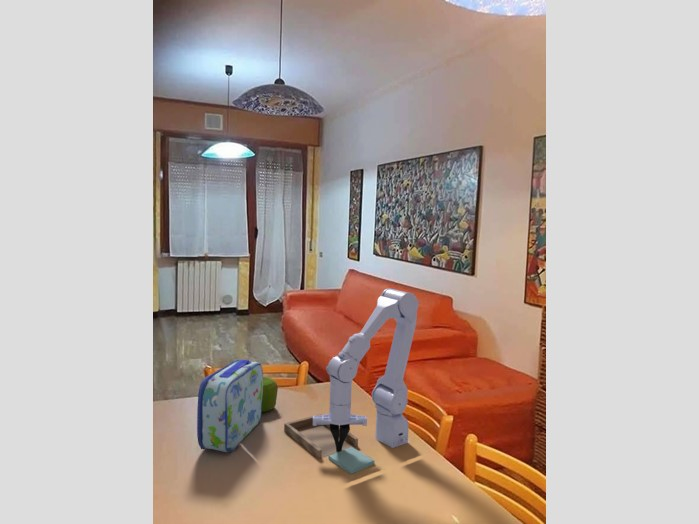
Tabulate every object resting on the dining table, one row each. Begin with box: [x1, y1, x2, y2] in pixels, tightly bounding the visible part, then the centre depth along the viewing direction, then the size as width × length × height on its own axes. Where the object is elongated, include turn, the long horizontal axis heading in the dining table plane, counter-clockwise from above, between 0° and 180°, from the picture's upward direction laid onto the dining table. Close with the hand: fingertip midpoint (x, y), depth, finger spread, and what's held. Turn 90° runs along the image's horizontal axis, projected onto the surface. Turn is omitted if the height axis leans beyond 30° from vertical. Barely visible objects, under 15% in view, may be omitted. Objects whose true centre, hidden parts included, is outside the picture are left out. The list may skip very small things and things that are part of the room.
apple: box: [261, 376, 279, 413], centre depth 155 cm, size 11×11×11 cm
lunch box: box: [196, 359, 264, 453], centre depth 135 cm, size 26×11×21 cm, turn 168°
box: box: [283, 413, 359, 460], centre depth 135 cm, size 19×13×3 cm
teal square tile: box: [328, 447, 375, 475], centre depth 123 cm, size 9×8×2 cm
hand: (338, 450), depth 127 cm, fingers closed
